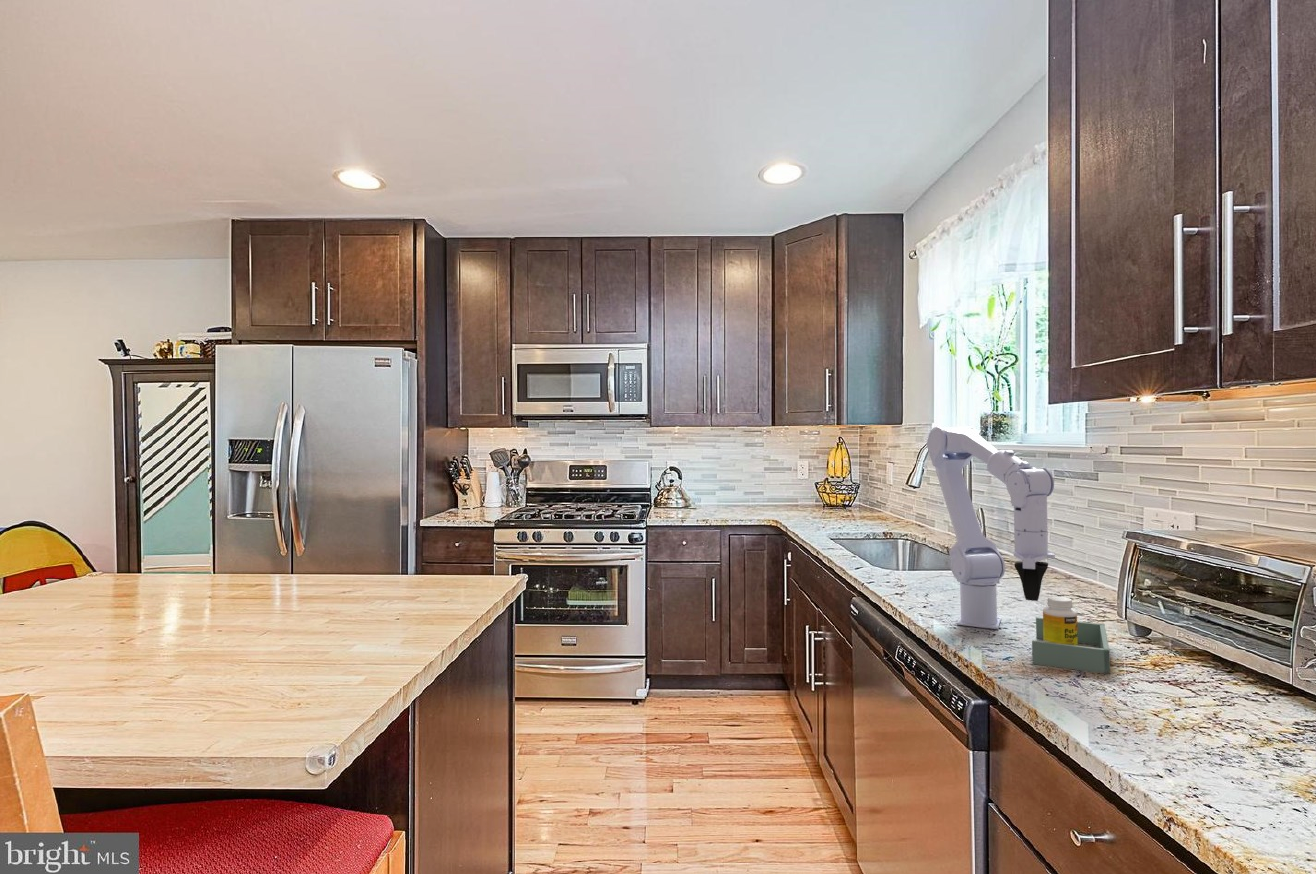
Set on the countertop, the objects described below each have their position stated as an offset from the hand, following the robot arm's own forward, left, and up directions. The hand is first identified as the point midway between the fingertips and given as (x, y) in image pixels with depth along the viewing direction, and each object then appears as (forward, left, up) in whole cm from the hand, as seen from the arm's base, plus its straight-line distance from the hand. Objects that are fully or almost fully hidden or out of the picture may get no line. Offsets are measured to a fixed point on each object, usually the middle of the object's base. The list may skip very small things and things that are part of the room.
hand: (1031, 599), depth 133 cm
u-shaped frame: (+3, +6, -9) cm, 11 cm away
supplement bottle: (+3, +5, -9) cm, 11 cm away
